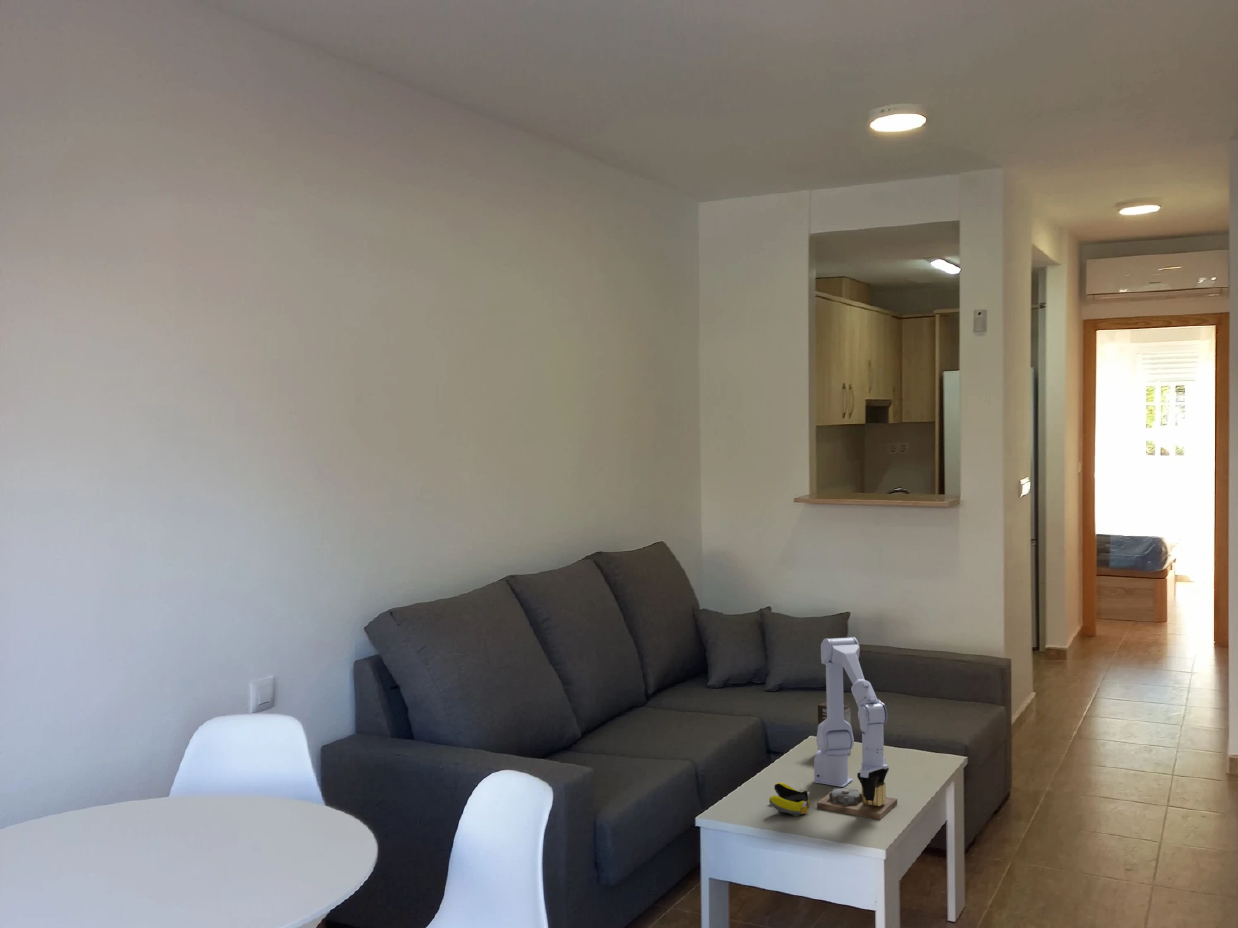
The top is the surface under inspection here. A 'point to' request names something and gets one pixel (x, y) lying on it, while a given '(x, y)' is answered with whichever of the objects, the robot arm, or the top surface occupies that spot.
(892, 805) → the gear board
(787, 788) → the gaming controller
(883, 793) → the wooden gear
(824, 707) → the coffee box
